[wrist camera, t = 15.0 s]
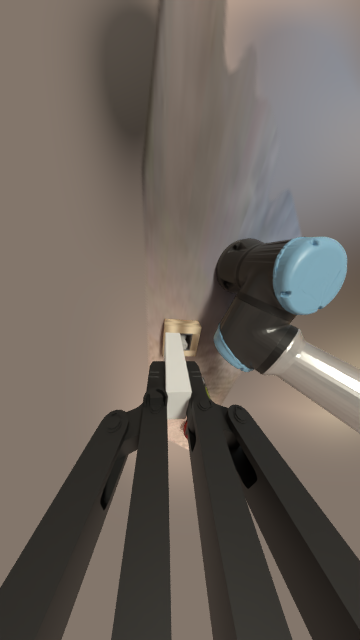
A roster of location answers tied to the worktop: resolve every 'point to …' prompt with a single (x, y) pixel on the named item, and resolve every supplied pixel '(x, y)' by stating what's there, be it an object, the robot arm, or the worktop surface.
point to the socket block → (184, 333)
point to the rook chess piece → (184, 341)
